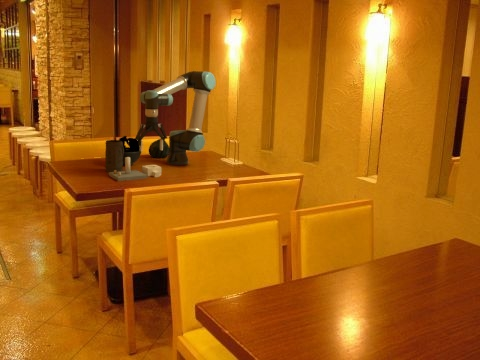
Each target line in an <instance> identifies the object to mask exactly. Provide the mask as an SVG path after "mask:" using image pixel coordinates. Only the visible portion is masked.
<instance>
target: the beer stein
mask: <svg viewBox="0 0 480 360" xmlns="http://www.w3.org/2000/svg"><path fill="white" fill-rule="evenodd" d="M104 153H105V155H104V156H105V172H106V173H107V174H109V172H114V170H117V172H119V171H124V169H123V167H124V166H123V161H122V159H123V154H124V148H123V142H122V141H120V140H119V139H109V140H108V139H107V140H105V152H104Z"/></svg>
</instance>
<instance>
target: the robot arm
mask: <svg viewBox="0 0 480 360" xmlns="http://www.w3.org/2000/svg"><path fill="white" fill-rule="evenodd" d="M216 82H217V81H216V77H215V76H214V74H213V73H212V72H209V71H201V70H200V71H195V70H193V71H188V72H186V73H183V74H181V75H178V76H177V77H176V79H174V80H172V81H171V80H170V82H167V83H165V84H163V85H161V86H158V87H157V88H153V89H152V90H150V89H149V90H146V91H142V92H141V93H140V95H139V100H140V102H141V103H142V104H145V108H144V109H145V111H144V113H145V118H144V119H145V121H144V122H145V123H144V124H143V123H141V124H139V125H140V127H139V129H138V131H137V134H136V136H135V139H136V140H138V145H139V146H140V151H141V153H142V152H143V151H144V150H143V149H144V148H143V141H144V140H143V139H144V138H145V136H146V135H147V134H148V133H149V132H155V133H156V134H157V135H158V137H159V139H160V150H163V145H164V140H165V141H166V140H167V139H168V140H169V141H168V142H169V143H168V146H169V155H168V156H167V157H166V164H167V165H171V166H183V165H184V166H185V165H188V164H189V157H188V155H187V151H188V152H189V151H190V152H192V153H194V152H195V153H197V152H200V151H201V150H203V149H204V147H205V145H206V144H205V143H206V139H205V137H204V133H203V131H202V128H203V122H204V117H205V112H206V105H207V100H208V96H209V95H210V94H211V91H212V90H214V88H215V87H216ZM187 89H193V92H194V95H193V102H192V103H193V104H192V107H191V108H192V109H191V115H190V119H189V125H188V128H187V129H181V130H180V129H179V130H171V131H170V132H169V136H167V133H166V131H165V130H164V127H163V124H162V123H159V117H158V116H159V107H165V106H166V107H168V106H171V105H172V104H173V101H174V97H173V94H174V93H177V92H179V91H181V90H182V91H184V90H187ZM158 128H159V129H158ZM168 137H169V138H168Z"/></svg>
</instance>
